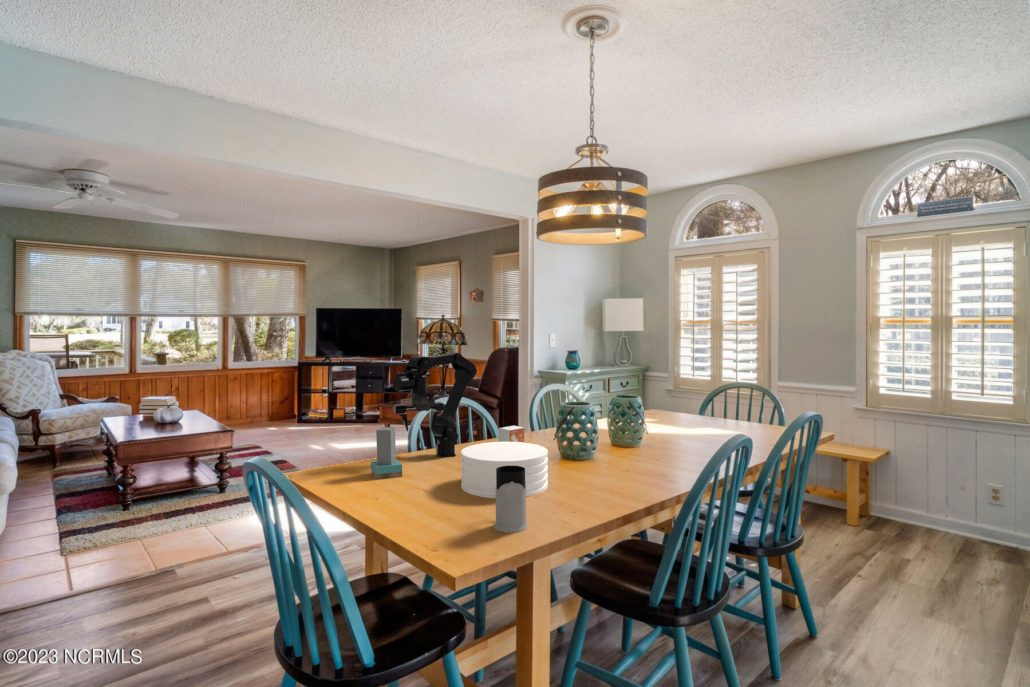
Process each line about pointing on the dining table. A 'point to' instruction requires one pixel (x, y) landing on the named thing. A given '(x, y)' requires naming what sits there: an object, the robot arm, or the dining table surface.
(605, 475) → the dining table surface
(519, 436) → the small box
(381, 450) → the grey pillar block
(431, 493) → the dining table surface
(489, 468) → the plate stack
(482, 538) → the dining table surface
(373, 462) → the teal slab
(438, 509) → the dining table surface
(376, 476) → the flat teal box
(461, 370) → the robot arm
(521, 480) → the glass holder
